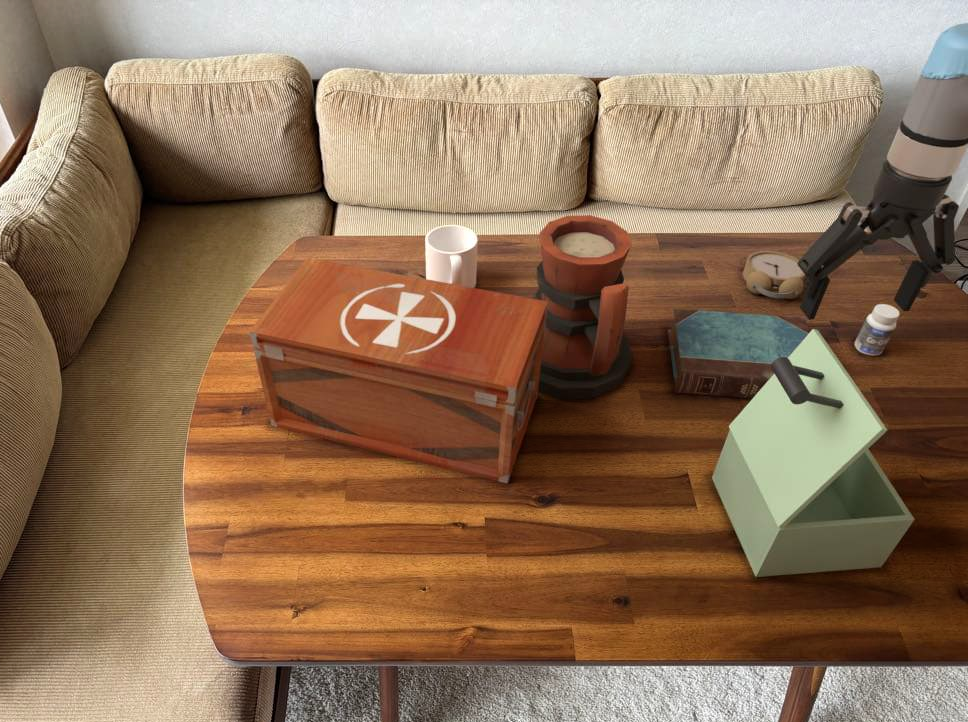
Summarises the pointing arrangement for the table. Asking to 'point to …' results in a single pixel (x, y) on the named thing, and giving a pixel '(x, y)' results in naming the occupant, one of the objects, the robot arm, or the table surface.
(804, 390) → the lid
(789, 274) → the alarm clock
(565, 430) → the table surface
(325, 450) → the table surface
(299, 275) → the wooden box
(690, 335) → the book
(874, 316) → the pill bottle
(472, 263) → the mug
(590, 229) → the tankard
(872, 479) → the chest
